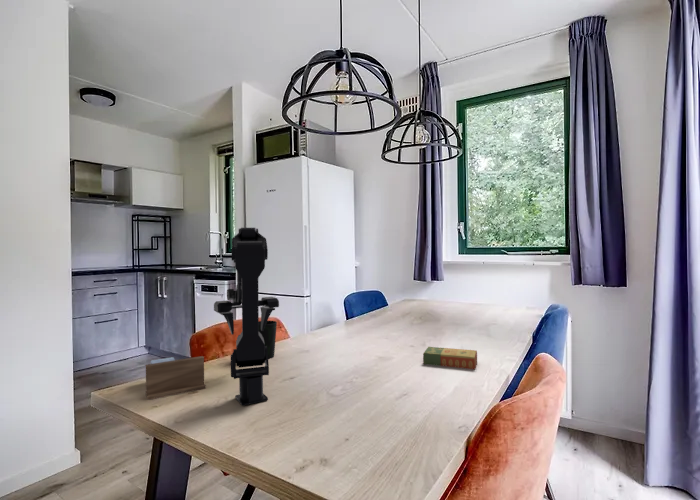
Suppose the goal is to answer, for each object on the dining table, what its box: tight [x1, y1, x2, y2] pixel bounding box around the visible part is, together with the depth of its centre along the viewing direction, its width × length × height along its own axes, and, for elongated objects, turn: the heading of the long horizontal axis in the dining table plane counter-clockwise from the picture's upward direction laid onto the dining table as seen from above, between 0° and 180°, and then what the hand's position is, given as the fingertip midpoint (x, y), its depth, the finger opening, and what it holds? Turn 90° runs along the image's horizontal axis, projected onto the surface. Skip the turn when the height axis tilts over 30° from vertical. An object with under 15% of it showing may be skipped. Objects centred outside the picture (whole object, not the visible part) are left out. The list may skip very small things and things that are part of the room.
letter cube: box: [150, 356, 176, 364], centre depth 108 cm, size 6×6×6 cm
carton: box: [422, 346, 478, 370], centre depth 122 cm, size 8×16×4 cm, turn 67°
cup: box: [259, 320, 278, 360], centre depth 132 cm, size 8×8×12 cm
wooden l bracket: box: [145, 355, 207, 401], centre depth 101 cm, size 5×14×8 cm, turn 122°
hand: (247, 332), depth 116 cm, fingers open, 9 cm apart
